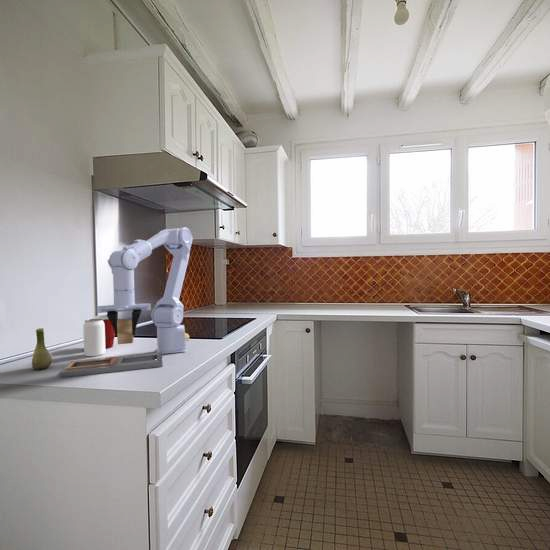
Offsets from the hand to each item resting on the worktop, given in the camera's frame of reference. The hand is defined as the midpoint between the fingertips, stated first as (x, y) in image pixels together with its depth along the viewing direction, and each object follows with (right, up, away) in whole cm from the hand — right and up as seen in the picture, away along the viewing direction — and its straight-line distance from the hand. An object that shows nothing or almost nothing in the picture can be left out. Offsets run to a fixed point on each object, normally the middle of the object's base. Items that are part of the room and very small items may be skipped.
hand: (125, 335), depth 100 cm
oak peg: (0, -2, 0) cm, 2 cm away
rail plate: (-2, -9, -1) cm, 9 cm away
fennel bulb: (-24, -10, -1) cm, 26 cm away
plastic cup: (-20, -9, +25) cm, 33 cm away
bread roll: (+6, -9, +35) cm, 37 cm away
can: (-17, -9, +15) cm, 24 cm away
